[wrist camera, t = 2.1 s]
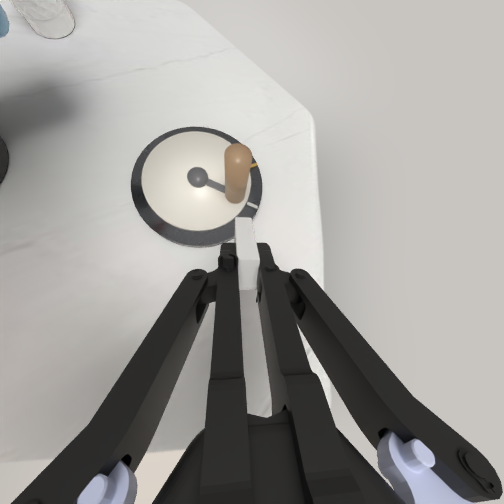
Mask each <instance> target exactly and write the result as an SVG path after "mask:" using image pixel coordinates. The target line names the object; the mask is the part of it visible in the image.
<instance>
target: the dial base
mask: <svg viewBox="0 0 504 504" xmlns="http://www.w3.org/2000/svg"><path fill="white" fill-rule="evenodd" d="M192 131H198V132H206V133H211V134H214V135H217V136H219V137H221V138H223V139H225V140H227V141H228V142H230V143H231V144H235V143H240V142H239V141H237V140H236V139H235V138H233V137H231V136H230V135H228V134H225V133H223V132H221V131H218V130H215V129H210V128H205V127H186V128H180V129H176V130H173V131H170V132H167V133H165V134H163V135H161V136H159V137H158V138H156V139H155V140H154V141H152V142H151V143H150V144H149V145H148V146H147V147H146V148H145V149H144V150H143V151H142V153H141V154H140V156H139V157H138V159H137V161H136V163H135V166H134V169H133V172H132V178H131V192H132V198H133V201H134V204H135V207H136V209H137V211H138V212H139V214H140V216H141V217H142V218H143V220H144V221H145V222H146V223H147V224H148V225H149V226H150V227H151V228H152V229H153V230H154V231H156V232H157V233H158V234H159V235H161V236H162V237H164V238H166V239H167V240H170V241H172V242H174V243H177V244H180V245H183V246H189V247H210V246H215V245H219V244H222V243H224V242H227V241H229V240H231V239H233V238H234V237H235V219H234V220H232V221H231V222H229V223H228V224H226V225H224V226H222V227H220V228H217V229H215V230H210V231H203V232H193V231H187V230H183V229H179V228H177V227H174V226H172V225H170V224H169V223H167V222H165V221H164V220H163V219H162V218H160V217H159V216H158V215H157V214H156V213H155V211H154V210H153V209H152V208H151V207H150V205H149V204H148V202H147V200H146V198H145V195H144V193H143V189H142V179H141V177H142V170H143V166H144V163H145V161H146V159H147V157H148V156H149V154H150V153H151V151H152V150H153V149H154V148H155V147H156V146H157V145H158V144H159V143H161V142H162V141H164V140H165V139H167V138H169V137H171V136H173V135H176V134H179V133H183V132H192ZM240 144H241V143H240ZM250 176H251V188H250V194H249V197H248V200H247V203H246V205H245V207H244V208H243V210H242V211H241V212H240V214H239V215H238V216H237V217H247V218H252V219H253V218H254V216H255V214H256V212H257V210H258V207H259V204H260V201H261V196H262V179H261V174H260V170H259V168H258V165H257V163H256V161H255V159H254V158H253V156H252V162H251V167H250Z"/></svg>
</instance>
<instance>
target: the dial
mask: <svg viewBox="0 0 504 504" xmlns="http://www.w3.org/2000/svg"><path fill="white" fill-rule="evenodd" d="M251 162H252V153H251V151H250V149H249V148H248V147H247V146H245V145H243V144H240V143H235V144H231V143H230V142H228V141H227V140H225V139H223V138H221V137H219V136H217V135H214V134H211V133H206V132H198V131H192V132H183V133H179V134H176V135H173V136H171V137H169V138H167V139H165V140H164V141H162V142H161V143H159V144H158V145H157V146H156V147H155V148H154V149H153V150H152V151H151V153H150V154H149V156H148V157H147V159H146V161H145V163H144V166H143V170H142V177H141V179H142V189H143V193H144V195H145V198H146V200H147V202H148V204H149V205H150V207H151V208H152V209H153V210H154V211H155V213H156V214H157V215H158V216H159V217H160V218H162V219H163V220H164V221H165V222H167V223H169V224H170V225H172V226H174V227H177V228H179V229H183V230H187V231H193V232H203V231H210V230H215V229H217V228H220V227H222V226H224V225H226V224H228V223H229V222H231V221H232V220H234V219H235V217H237V216H238V215H239V214H240V212H241V211H242V210H243V208H244V207H245V205H246V203H247V200H248V197H249V194H250V188H251V176H250V167H251Z"/></svg>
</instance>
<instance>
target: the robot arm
mask: <svg viewBox="0 0 504 504" xmlns="http://www.w3.org/2000/svg"><path fill="white" fill-rule="evenodd" d="M8 31H9V21H8V18H7V15H6V13H5V11H4V10H3V8H2V6H1V5H0V38H1V37H4V36H5V35H6V34H7V33H8ZM7 165H8V152H7V148H6V145H5V143H4V141H3V140H2V138H1V137H0V182H1V180H2V179H3V177H4V175H5V172H6V169H7ZM256 288H257V289H258V290H257V298H256V302H258V306H259V313H260V320H261V327H262V334H263V341H264V348H265V355H266V362H267V369H268V376H269V383H270V390H271V397H272V416H271V417H268V418H264V417H260V416H256V415H252V414H247V402H246V386H245V378H244V370H243V351H242V332H241V314H240V295H239V290H256ZM215 301H216V307H215V320H214V333H213V347H212V360H211V373H210V380H209V385H208V396H207V409H206V421H205V428H204V429H203V430H202V431H201V432H200V433H199V434H198V435H197V436H196V437H195V438H194V439H193V440H192V442H191V443H190V445H189V446H188V447H187V449H186V451H185V452H184V454H183V455H182V457H181V459H180V460H179V462H178V463H177V465H176V467H175V468H174V470H173V471H172V473H171V474H170V476H169V477H168V479H167V481H166V482H165V484H164V485H163V487H162V488H161V490H160V492H159V493H158V495H157V496H156V498H155V500H154V501H153V503H152V504H475V503H477V502H481V501H489V500H495V499H500V497H501V495H502V493H503V491H502V485H501V481H500V479H499V477H498V475H497V473H496V471H495V469H494V468H493V467H492V466H491V464H490V463H489V461H488V460H487V459H486V458H485V457H484V456H483V455H482V454H481V453H480V452H479V451H478V450H477V449H476V448H475V447H474V446H473V445H471V444H470V443H469V442H468V441H466V440H465V439H464V438H463V437H462V436H460V435H459V434H458V433H457V432H456V431H454V430H453V429H452V428H451V427H450V426H448V425H447V424H446V423H445V422H444V421H442V420H441V419H440V418H439V417H437V416H436V415H435V414H434V413H433V412H431V411H430V410H429V409H428V408H427V407H425V406H424V405H423V404H422V403H420V402H419V401H418V400H417V399H416V398H414V397H413V396H412V394H411V393H410V392H409V391H408V390H407V389H406V387H405V386H404V385H403V384H402V383H401V381H400V380H399V379H398V378H397V377H396V376H395V374H394V373H393V372H392V371H391V370H390V369H389V368H388V366H387V365H386V364H385V363H384V361H383V360H382V359H381V358H380V357H379V356H378V354H377V353H376V352H375V351H374V350H373V349H372V347H371V346H370V345H369V344H368V343H367V341H366V340H365V339H364V338H363V337H362V336H361V334H360V333H359V332H358V331H357V330H356V329H355V327H354V326H353V325H352V324H351V323H350V321H349V320H348V319H347V318H346V317H345V316H344V314H343V313H342V312H341V311H340V310H339V309H338V307H337V306H336V305H335V304H334V303H333V301H332V300H331V299H330V298H329V297H328V296H327V294H326V293H325V292H324V291H323V290H322V289H321V287H320V286H319V285H318V284H317V283H316V281H315V280H314V279H313V278H312V277H311V276H310V274H309V273H308V272H306V271H305V270H303V269H293V270H292V271H291V273H288V272H284V271H281V270H279V267H278V266H277V265H276V264H275V263H274V259H273V256H272V253H271V249H270V246H269V245H268V244H267V243H256V238H255V233H254V228H253V223H252V218H247V217H235V241H234V243H223V244H222V245H221V249H220V256H219V258H218V269H216V270H215V271H213V272H209V273H207V272H206V271H205V270H202V269H194V270H192V271H190V272H188V273H187V275H186V276H185V278H184V279H183V281H182V282H181V284H180V285H179V287H178V289H177V290H176V292H175V293H174V295H173V296H172V298H171V299H170V301H169V302H168V304H167V305H166V307H165V308H164V310H163V311H162V313H161V314H160V316H159V318H158V319H157V321H156V322H155V324H154V325H153V327H152V328H151V330H150V331H149V333H148V334H147V336H146V337H145V339H144V340H143V342H142V343H141V345H140V347H139V348H138V350H137V351H136V353H135V354H134V356H133V357H132V359H131V360H130V362H129V363H128V365H127V366H126V368H125V369H124V371H123V373H122V374H121V376H120V377H119V379H118V380H117V382H116V383H115V385H114V386H113V388H112V389H111V391H110V392H109V394H108V395H107V397H106V398H105V400H104V402H103V403H102V405H101V406H100V408H99V409H98V411H97V412H96V414H95V415H94V417H93V418H92V420H91V421H90V423H89V424H88V425H87V426H86V427H85V428H84V429H83V430H82V431H81V432H80V434H79V435H78V436H77V437H76V438H75V439H74V440H73V441H72V442H71V443H70V444H69V445H68V446H67V447H66V448H65V449H64V450H63V451H62V452H61V453H60V454H59V455H58V456H57V457H56V458H55V459H54V460H53V461H52V462H51V463H50V464H49V465H48V466H47V467H46V468H45V469H44V470H43V471H42V472H41V473H40V474H39V475H38V476H37V478H36V479H35V480H34V481H33V482H32V483H31V484H30V485H29V486H28V487H27V488H26V489H25V490H24V491H23V492H22V493H21V494H20V495H19V496H18V497H17V498H16V499H15V500H14V501H13V502H12V503H11V504H134V502H135V498H136V494H137V480H136V477H135V475H134V472H135V471H136V469H137V467H138V465H139V463H140V462H141V460H142V458H143V456H144V455H145V453H146V451H147V449H148V447H149V445H150V442H151V440H152V438H153V436H154V434H155V431H156V429H157V427H158V424H159V422H160V420H161V417H162V415H163V413H164V410H165V408H166V405H167V403H168V401H169V398H170V396H171V394H172V391H173V389H174V387H175V384H176V382H177V380H178V377H179V375H180V372H181V370H182V368H183V365H184V363H185V361H186V358H187V356H188V354H189V351H190V349H191V346H192V344H193V342H194V339H195V337H196V335H197V332H198V330H199V328H200V325H201V323H202V321H203V318H204V316H205V313H206V311H207V309H208V306H209V303H211V302H215ZM296 323H297V324H296ZM297 325H298V326H299V328H300V330H301V331H302V333H303V335H304V336H305V338H306V340H307V341H308V343H309V345H310V346H311V348H312V350H313V351H314V353H315V355H316V357H317V358H318V360H319V362H320V363H321V365H322V367H323V368H324V370H325V372H326V373H327V375H328V377H329V378H330V380H331V382H332V383H333V385H334V387H335V388H336V390H337V392H338V393H339V395H340V397H341V398H342V400H343V402H344V403H345V405H346V407H347V409H348V410H349V412H350V414H351V415H352V417H353V419H354V420H355V422H356V423H357V425H358V426H359V428H360V429H361V431H362V432H363V434H364V435H365V436H366V437H367V439H368V440H369V442H370V443H371V444H372V445H373V447H374V448H375V449H376V450H377V457H378V467H379V469H380V471H381V473H382V474H383V476H384V477H385V478H387V479H388V480H389V481H390V483H391V485H392V486H393V489H394V490H393V489H392V488H391V487H390V486H389V484H388V483H386V481H385V480H384V479H383V478H382V477H381V476H380V475H379V474H378V472H377V471H376V470H375V469H374V468H373V467H372V466H371V465H370V464H369V463H368V461H367V460H366V459H365V458H364V457H363V456H362V455H361V454H360V453H359V452H358V450H357V449H356V448H355V447H354V446H353V445H352V444H351V443H350V442H349V441H348V439H347V438H346V437H345V436H344V435H343V434H342V433H341V432H340V431H339V430H338V429H337V428H336V426H335V423H334V420H333V417H332V414H331V411H330V408H329V405H328V402H327V399H326V396H325V393H324V390H323V387H322V384H321V382H320V379H319V377H318V376H317V374H315V373H313V372H312V370H311V368H310V365H309V362H308V359H307V355H306V352H305V349H304V346H303V343H302V340H301V336H300V333H299V330H298V327H297Z"/></svg>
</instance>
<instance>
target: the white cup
mask: <svg viewBox="0 0 504 504" xmlns="http://www.w3.org/2000/svg"><path fill="white" fill-rule="evenodd" d="M10 2H11V3H12V4H13V6H14V7H15V8H16V9H17V10H18V11H19V12H20V13H21V14H22V15H23V17H24V18H25V19H26V20H27V22H28V23H29V24H30V26H31V27H32V28H33V29H34V30H35V31H36V33H38V34H39V35H42V36H44V37H46V38H54V39H57V38H62V37H65V36H67V35H68V34H70V33H71V32H72V31H73V29H74V26H75V23H74V18H73V16H72V14H71V12H70V10H69V9H68V7H67V5H66V3H65V1H64V0H10Z"/></svg>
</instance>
